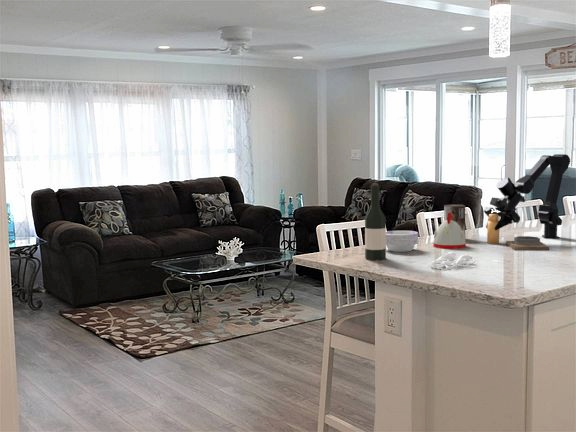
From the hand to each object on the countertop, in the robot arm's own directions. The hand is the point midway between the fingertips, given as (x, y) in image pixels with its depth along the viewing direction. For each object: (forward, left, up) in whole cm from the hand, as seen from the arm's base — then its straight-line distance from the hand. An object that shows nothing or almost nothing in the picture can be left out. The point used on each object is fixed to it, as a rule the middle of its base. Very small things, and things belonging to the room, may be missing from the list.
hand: (490, 228), depth 302 cm
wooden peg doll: (-1, +1, -7) cm, 7 cm away
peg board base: (+11, +13, -7) cm, 18 cm away
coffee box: (-13, -14, -7) cm, 20 cm away
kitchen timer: (+8, -19, -7) cm, 22 cm away
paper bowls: (+19, -41, -7) cm, 46 cm away
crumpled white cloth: (+54, -24, -7) cm, 59 cm away
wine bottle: (+39, -52, -7) cm, 66 cm away
